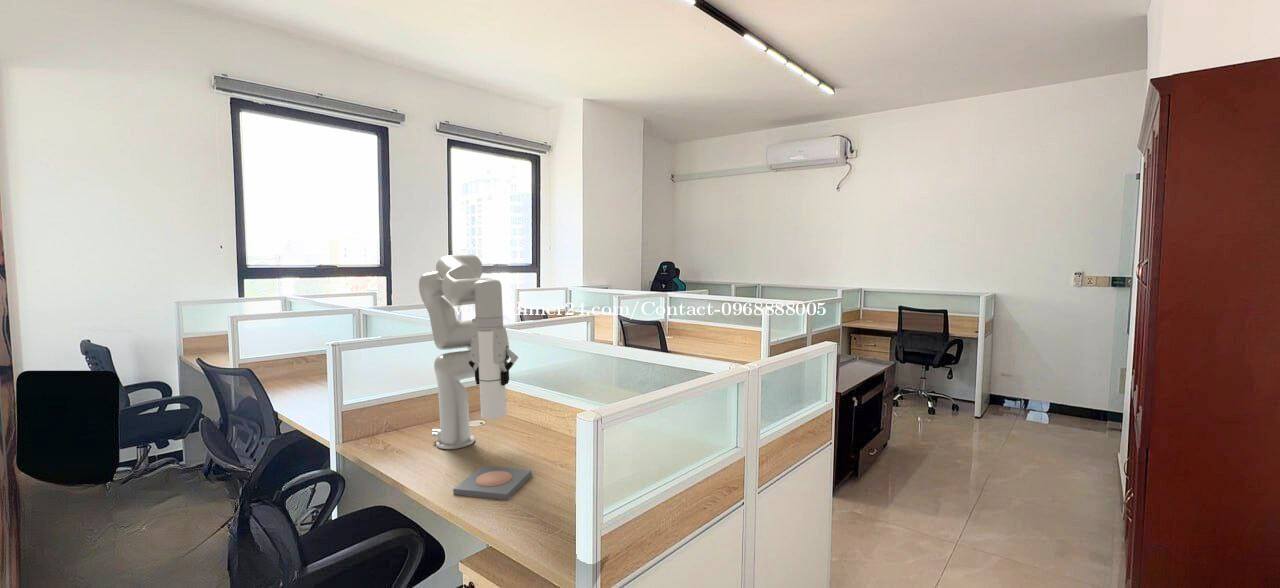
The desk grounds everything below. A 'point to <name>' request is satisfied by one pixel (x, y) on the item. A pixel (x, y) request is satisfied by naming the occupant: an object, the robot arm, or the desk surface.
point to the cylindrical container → (490, 379)
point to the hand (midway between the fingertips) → (492, 383)
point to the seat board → (493, 482)
